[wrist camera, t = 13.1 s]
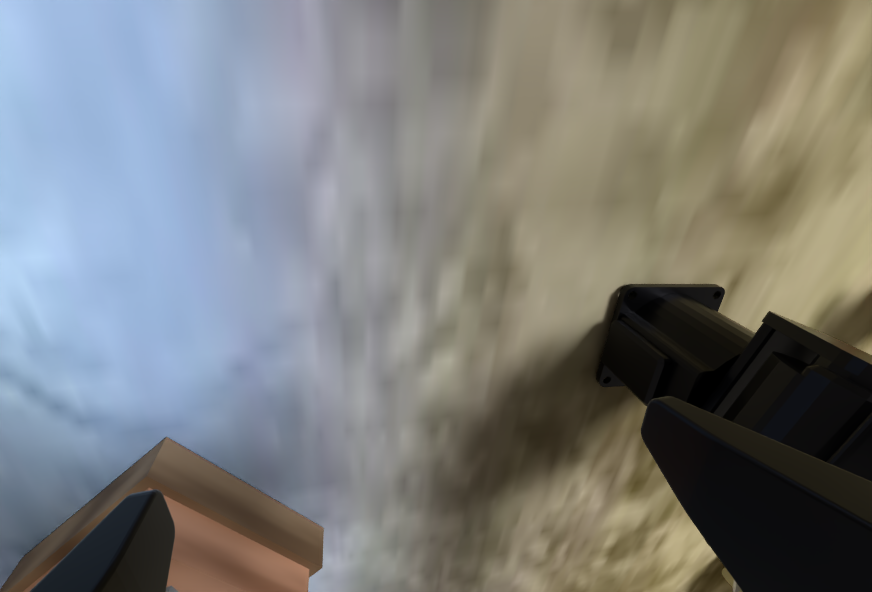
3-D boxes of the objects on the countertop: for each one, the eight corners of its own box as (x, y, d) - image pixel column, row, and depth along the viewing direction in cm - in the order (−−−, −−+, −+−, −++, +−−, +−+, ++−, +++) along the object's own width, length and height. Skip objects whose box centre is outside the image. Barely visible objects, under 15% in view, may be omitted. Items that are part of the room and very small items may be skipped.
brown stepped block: (166, 436, 21) (121, 525, 17) (323, 528, 26) (320, 615, 22) (22, 557, 23) (-55, 669, 18) (197, 623, 28) (170, 723, 23)
